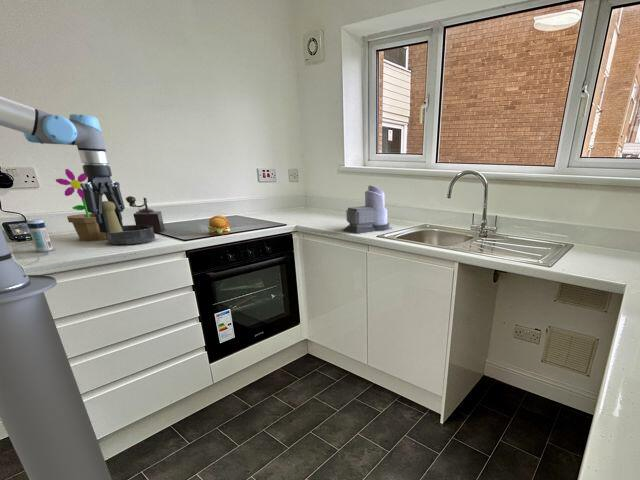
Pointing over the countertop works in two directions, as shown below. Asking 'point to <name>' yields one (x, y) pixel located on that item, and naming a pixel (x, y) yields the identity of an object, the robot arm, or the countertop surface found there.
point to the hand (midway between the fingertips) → (112, 230)
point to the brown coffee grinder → (147, 215)
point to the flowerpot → (82, 222)
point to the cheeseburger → (218, 225)
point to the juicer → (368, 213)
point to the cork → (111, 217)
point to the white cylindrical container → (39, 235)
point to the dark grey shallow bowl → (132, 235)
